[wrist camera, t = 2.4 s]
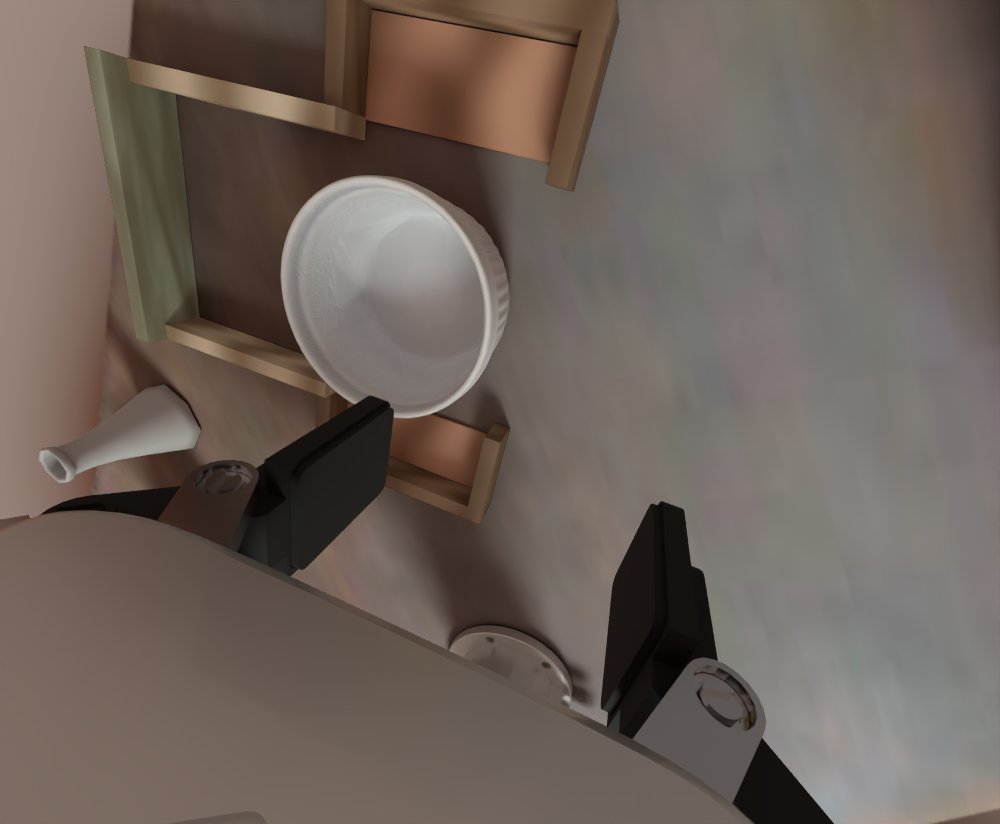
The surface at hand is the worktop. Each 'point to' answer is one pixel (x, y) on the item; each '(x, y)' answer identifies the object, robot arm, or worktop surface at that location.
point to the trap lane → (347, 105)
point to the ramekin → (393, 293)
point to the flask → (127, 435)
